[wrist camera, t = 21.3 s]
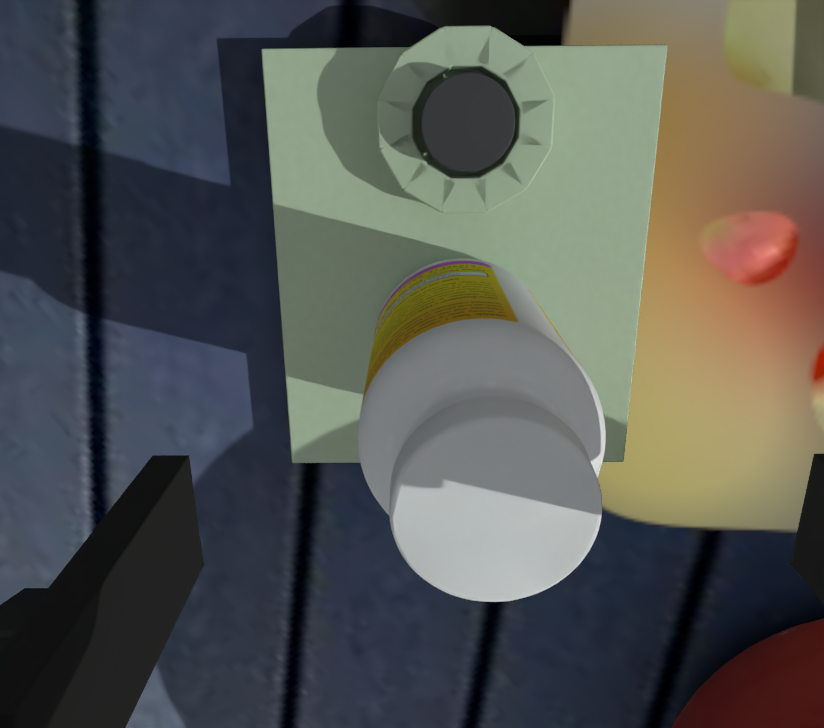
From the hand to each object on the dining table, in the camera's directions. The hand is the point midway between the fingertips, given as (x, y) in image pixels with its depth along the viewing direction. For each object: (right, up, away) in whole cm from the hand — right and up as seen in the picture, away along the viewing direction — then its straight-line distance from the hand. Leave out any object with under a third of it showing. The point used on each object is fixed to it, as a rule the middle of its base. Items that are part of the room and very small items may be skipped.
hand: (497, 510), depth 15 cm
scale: (0, +7, +13) cm, 15 cm away
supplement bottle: (0, +4, +13) cm, 13 cm away
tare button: (0, +11, +9) cm, 14 cm away
